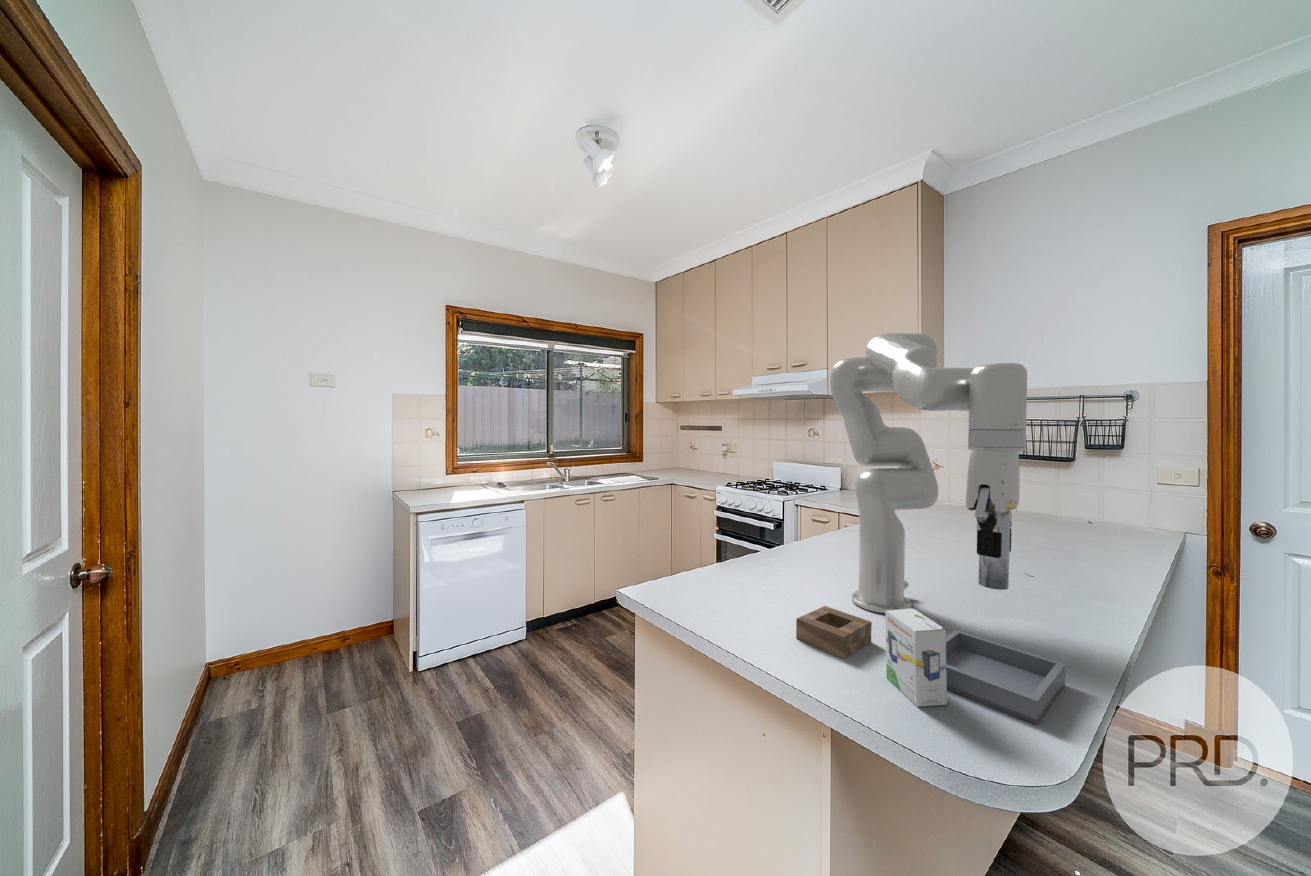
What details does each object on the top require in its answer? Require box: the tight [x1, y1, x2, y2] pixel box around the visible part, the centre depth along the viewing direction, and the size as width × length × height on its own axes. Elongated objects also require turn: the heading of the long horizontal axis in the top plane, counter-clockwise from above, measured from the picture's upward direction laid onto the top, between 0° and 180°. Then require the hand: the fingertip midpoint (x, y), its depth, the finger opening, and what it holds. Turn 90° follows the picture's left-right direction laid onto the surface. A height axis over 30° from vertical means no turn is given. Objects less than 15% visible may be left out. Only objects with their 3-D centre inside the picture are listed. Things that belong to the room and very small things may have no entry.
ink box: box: [884, 608, 948, 708], centre depth 75 cm, size 9×5×12 cm, turn 5°
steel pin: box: [976, 499, 1018, 591], centre depth 77 cm, size 6×6×14 cm
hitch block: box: [795, 605, 872, 659], centre depth 92 cm, size 10×10×4 cm
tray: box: [946, 629, 1067, 726], centre depth 78 cm, size 16×16×4 cm
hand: (993, 552), depth 77 cm, fingers closed on steel pin, 4 cm apart
